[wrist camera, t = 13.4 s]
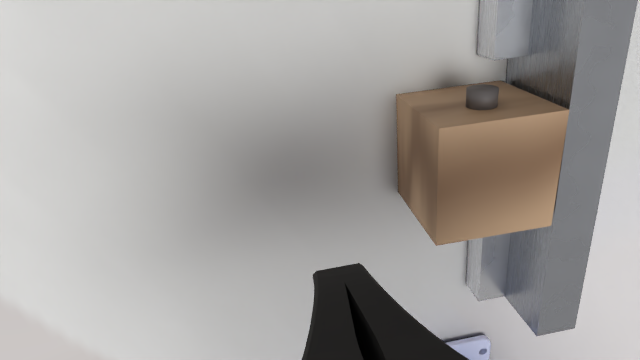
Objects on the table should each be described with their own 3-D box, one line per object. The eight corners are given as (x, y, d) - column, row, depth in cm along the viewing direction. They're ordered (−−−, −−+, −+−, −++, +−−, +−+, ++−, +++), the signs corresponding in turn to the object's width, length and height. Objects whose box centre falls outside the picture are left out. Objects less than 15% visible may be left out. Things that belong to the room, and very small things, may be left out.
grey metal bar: (523, 272, 26) (574, 328, 22) (466, 284, 26) (507, 341, 22) (558, -29, 19) (642, -28, 15) (480, -19, 19) (546, -16, 15)
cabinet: (491, 176, 23) (550, 225, 19) (397, 191, 23) (436, 245, 18) (500, 65, 21) (572, 91, 16) (395, 78, 20) (439, 109, 16)
